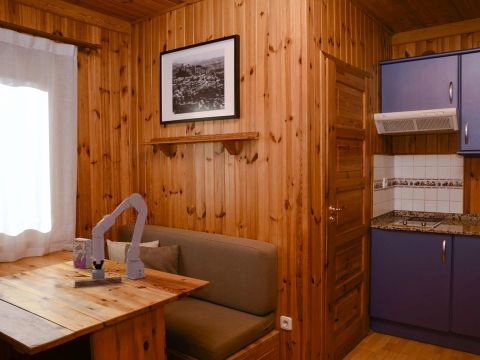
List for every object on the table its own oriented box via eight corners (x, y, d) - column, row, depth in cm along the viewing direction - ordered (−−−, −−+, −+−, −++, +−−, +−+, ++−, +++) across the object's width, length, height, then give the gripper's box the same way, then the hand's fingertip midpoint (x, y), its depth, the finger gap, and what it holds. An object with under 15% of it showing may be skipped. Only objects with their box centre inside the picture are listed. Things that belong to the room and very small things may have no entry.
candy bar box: (72, 266, 247) (72, 238, 246) (80, 265, 251) (79, 237, 251) (85, 269, 241) (85, 240, 240) (92, 267, 245) (92, 239, 245)
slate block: (104, 278, 222) (104, 268, 221) (104, 281, 216) (104, 271, 216) (92, 279, 220) (92, 269, 220) (92, 282, 214) (92, 272, 214)
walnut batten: (121, 281, 216) (121, 276, 216) (121, 283, 213) (121, 278, 213) (75, 285, 209) (74, 280, 209) (74, 287, 206) (74, 281, 206)
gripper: (90, 246, 227) (90, 271, 228) (89, 251, 213) (90, 278, 214) (104, 245, 229) (104, 270, 230) (104, 251, 216) (104, 277, 216)
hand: (98, 274), depth 222 cm, fingers closed
